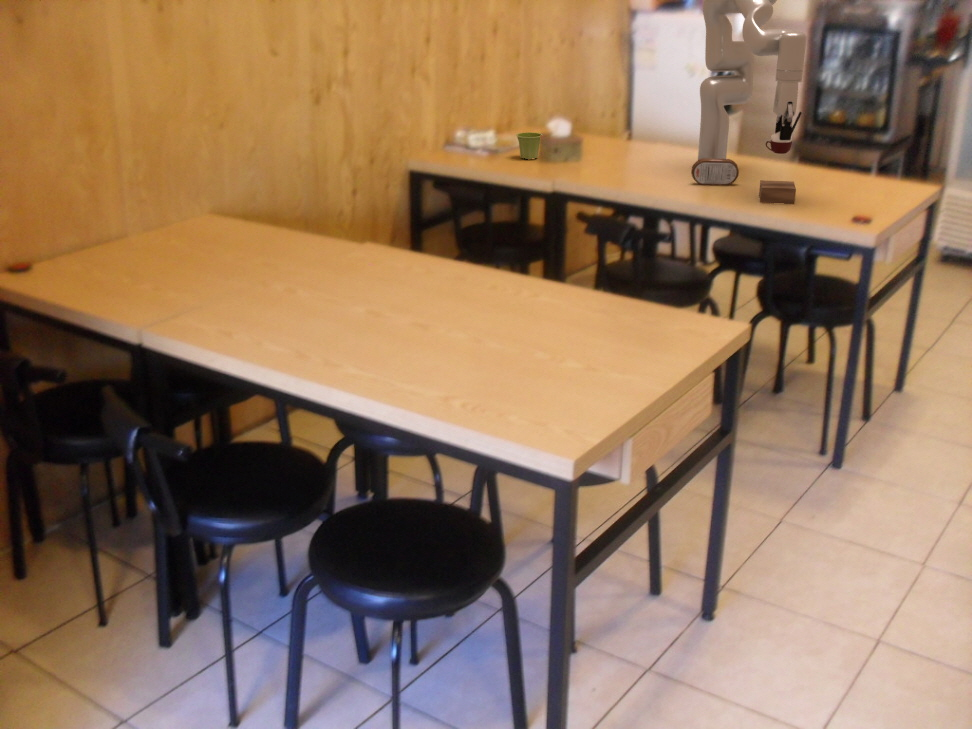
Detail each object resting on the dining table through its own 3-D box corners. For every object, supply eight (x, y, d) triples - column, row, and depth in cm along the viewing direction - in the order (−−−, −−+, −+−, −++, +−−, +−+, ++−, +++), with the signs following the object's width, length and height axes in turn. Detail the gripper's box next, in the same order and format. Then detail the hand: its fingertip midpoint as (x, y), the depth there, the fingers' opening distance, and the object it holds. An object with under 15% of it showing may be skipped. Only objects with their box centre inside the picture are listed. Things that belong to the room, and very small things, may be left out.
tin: (737, 184, 338) (739, 158, 334) (738, 186, 335) (740, 160, 332) (690, 183, 339) (692, 157, 336) (691, 185, 336) (692, 159, 333)
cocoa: (763, 154, 312) (765, 114, 307) (768, 150, 317) (770, 110, 312) (796, 155, 307) (798, 115, 303) (800, 151, 312) (802, 111, 308)
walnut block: (758, 196, 323) (760, 180, 321) (791, 197, 321) (793, 181, 319) (760, 203, 314) (761, 187, 312) (794, 205, 312) (795, 188, 310)
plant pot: (545, 160, 374) (545, 136, 371) (520, 161, 372) (520, 137, 368) (537, 155, 382) (537, 131, 379) (512, 156, 380) (513, 133, 377)
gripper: (770, 72, 312) (764, 132, 319) (782, 80, 296) (775, 143, 303) (795, 72, 311) (789, 132, 318) (808, 80, 295) (801, 143, 302)
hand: (782, 137), depth 310 cm, fingers closed on cocoa, 5 cm apart
